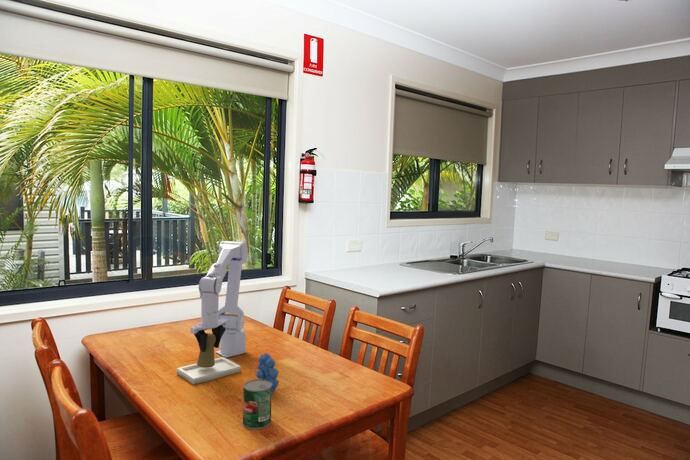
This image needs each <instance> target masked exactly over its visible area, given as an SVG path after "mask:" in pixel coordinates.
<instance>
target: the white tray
mask: <svg viewBox="0 0 690 460" xmlns="http://www.w3.org/2000/svg"><path fill="white" fill-rule="evenodd" d="M214 360H215V365H214V366H213V367H210V368H202V367H199V366H198V365H197V363H193V364H189V365H185V366H181V367H177V368H176V375H178V376H180V377H181V378H183V379H184V380H186V381H187V382H189V383H190V384H192V385H193V386H194V385H197V384H201V383H206V382H208V381H211V380H215V379H220V378H222V377H226V376H230V375H234V374H237V373H240V372H242V371H241V370H242V366H241V365H239V364H237V363H236V362H234V361H232V360H230V359H228V358H226V357H224V356H221V357H218V358H214Z"/></svg>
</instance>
